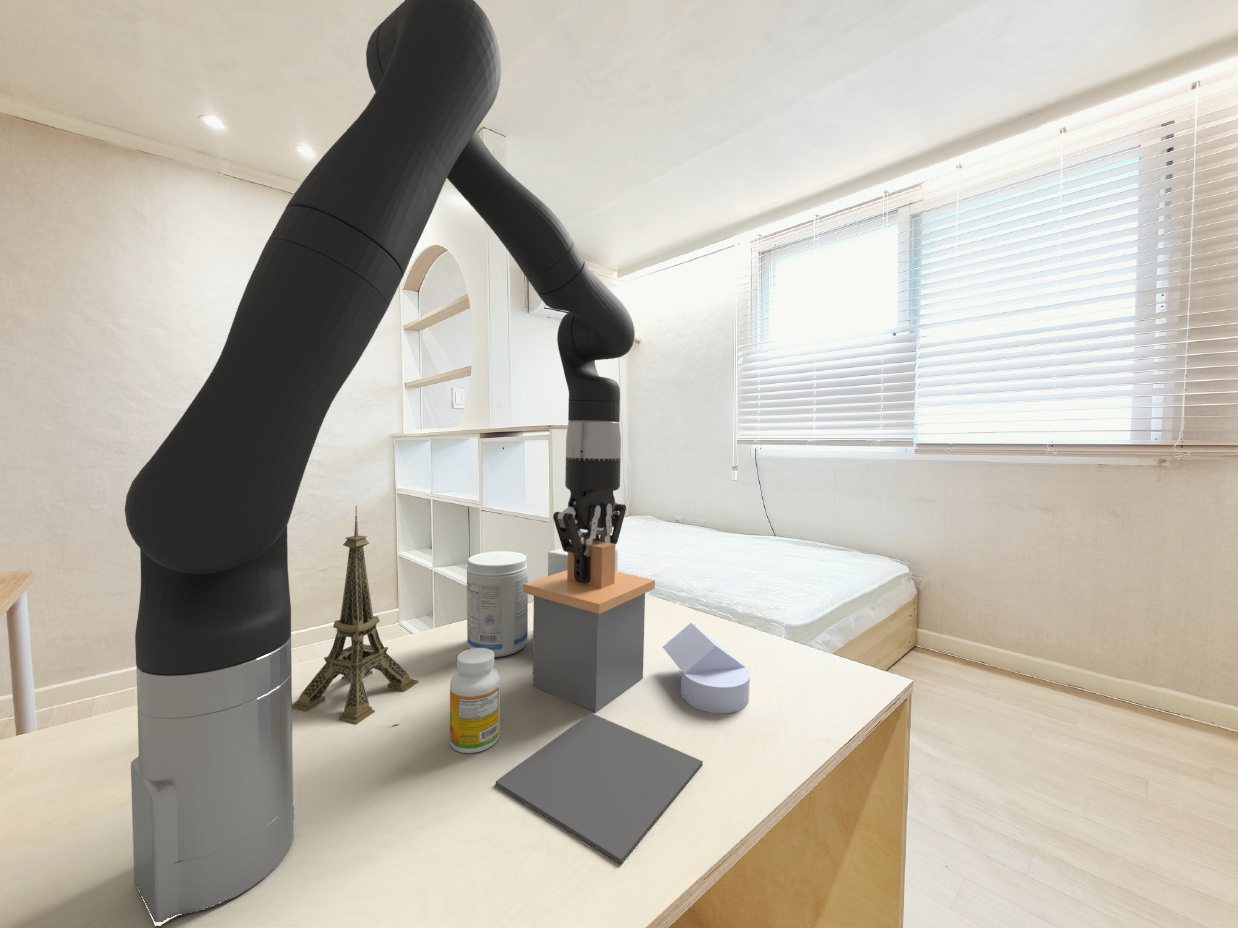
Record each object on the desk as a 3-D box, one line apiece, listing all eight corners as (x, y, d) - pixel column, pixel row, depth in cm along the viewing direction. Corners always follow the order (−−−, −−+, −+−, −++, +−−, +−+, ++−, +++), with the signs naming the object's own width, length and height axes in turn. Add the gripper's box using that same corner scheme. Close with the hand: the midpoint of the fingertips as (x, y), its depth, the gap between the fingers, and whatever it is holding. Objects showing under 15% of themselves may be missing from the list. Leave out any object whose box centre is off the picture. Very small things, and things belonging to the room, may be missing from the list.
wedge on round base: (661, 668, 73) (696, 717, 60) (662, 624, 73) (698, 664, 60) (717, 663, 75) (762, 708, 63) (718, 620, 75) (763, 657, 62)
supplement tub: (511, 630, 86) (512, 547, 85) (538, 648, 79) (539, 558, 78) (457, 644, 80) (457, 555, 79) (481, 665, 73) (481, 567, 72)
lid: (599, 623, 59) (600, 558, 58) (523, 601, 66) (523, 543, 66) (654, 596, 70) (656, 541, 69) (583, 579, 77) (584, 530, 77)
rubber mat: (621, 864, 39) (621, 859, 39) (495, 784, 48) (495, 780, 48) (702, 764, 51) (702, 760, 51) (590, 715, 60) (590, 712, 60)
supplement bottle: (456, 725, 57) (457, 644, 57) (503, 724, 58) (504, 644, 57) (443, 755, 52) (444, 666, 52) (494, 754, 52) (495, 665, 52)
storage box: (595, 712, 61) (597, 609, 60) (532, 685, 67) (533, 592, 67) (642, 678, 70) (645, 588, 69) (583, 657, 76) (584, 574, 76)
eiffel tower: (288, 708, 60) (286, 507, 59) (357, 670, 71) (356, 498, 69) (356, 724, 57) (355, 513, 56) (418, 682, 67) (418, 502, 66)
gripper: (581, 457, 59) (579, 597, 60) (643, 455, 71) (640, 573, 71) (537, 454, 63) (535, 586, 64) (602, 453, 75) (600, 564, 76)
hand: (590, 578), depth 68 cm, fingers closed on lid, 3 cm apart
